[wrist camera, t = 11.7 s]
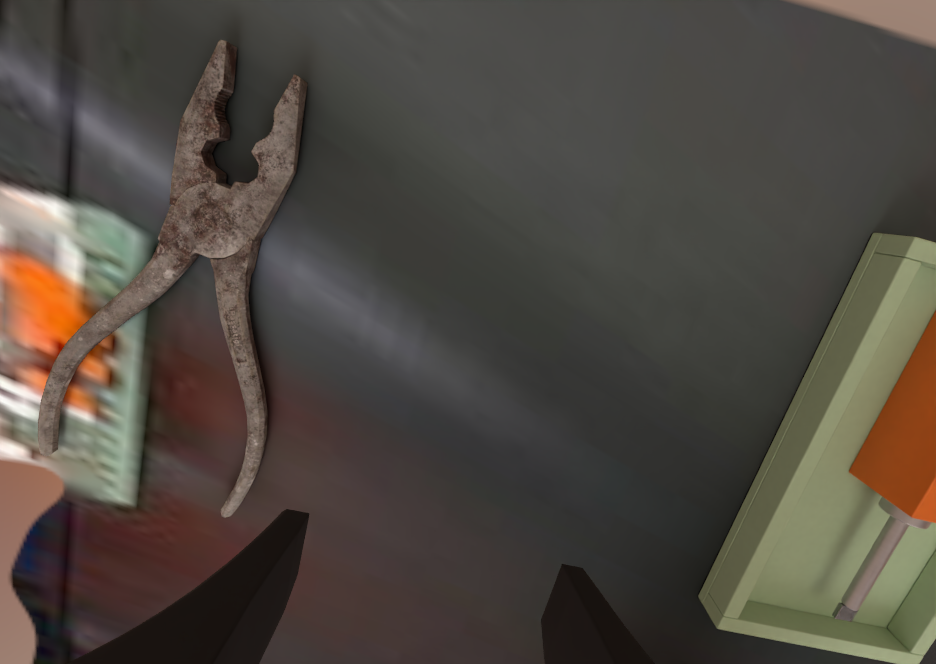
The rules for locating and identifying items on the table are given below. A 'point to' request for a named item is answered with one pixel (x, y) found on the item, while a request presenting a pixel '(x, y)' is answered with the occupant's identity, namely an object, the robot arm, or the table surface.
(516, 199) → the table surface
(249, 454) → the pliers
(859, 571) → the screwdriver
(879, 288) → the tray
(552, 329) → the table surface
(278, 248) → the table surface
